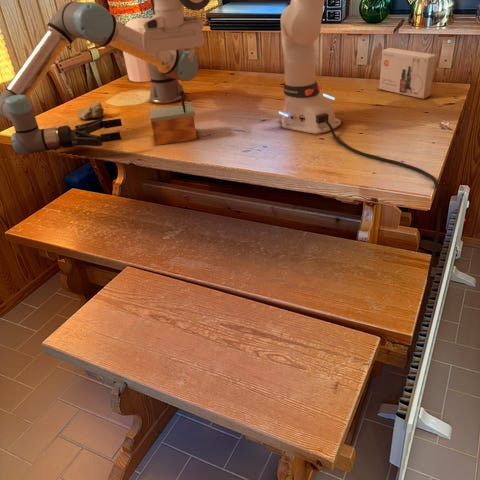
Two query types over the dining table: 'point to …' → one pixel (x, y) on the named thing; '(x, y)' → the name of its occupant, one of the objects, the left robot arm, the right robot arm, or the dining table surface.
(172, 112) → the lid
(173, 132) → the chest
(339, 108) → the dining table surface
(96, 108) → the rock
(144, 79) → the container
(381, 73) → the skincare box
